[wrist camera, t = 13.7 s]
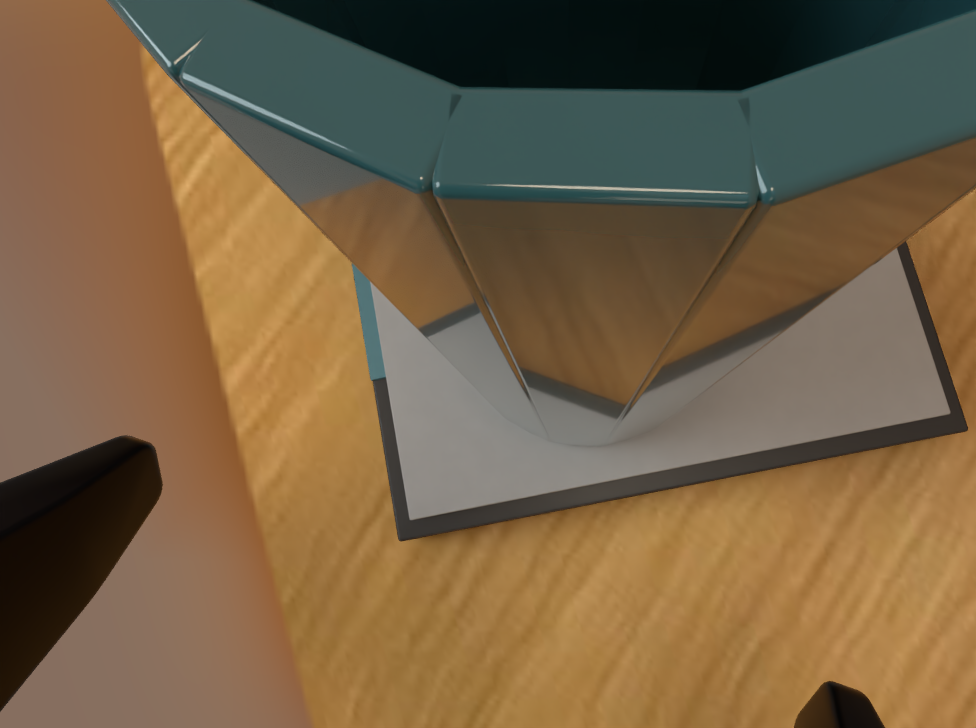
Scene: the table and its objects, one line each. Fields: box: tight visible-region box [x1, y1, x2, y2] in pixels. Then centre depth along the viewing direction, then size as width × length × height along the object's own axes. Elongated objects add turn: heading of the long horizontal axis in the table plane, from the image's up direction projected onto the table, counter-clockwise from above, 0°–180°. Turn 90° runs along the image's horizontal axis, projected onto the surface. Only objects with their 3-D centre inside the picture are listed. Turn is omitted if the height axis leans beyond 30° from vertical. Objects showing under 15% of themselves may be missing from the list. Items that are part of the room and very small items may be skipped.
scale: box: [352, 241, 968, 541], centre depth 20 cm, size 15×15×2 cm
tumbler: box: [106, 0, 976, 447], centre depth 11 cm, size 7×7×16 cm
